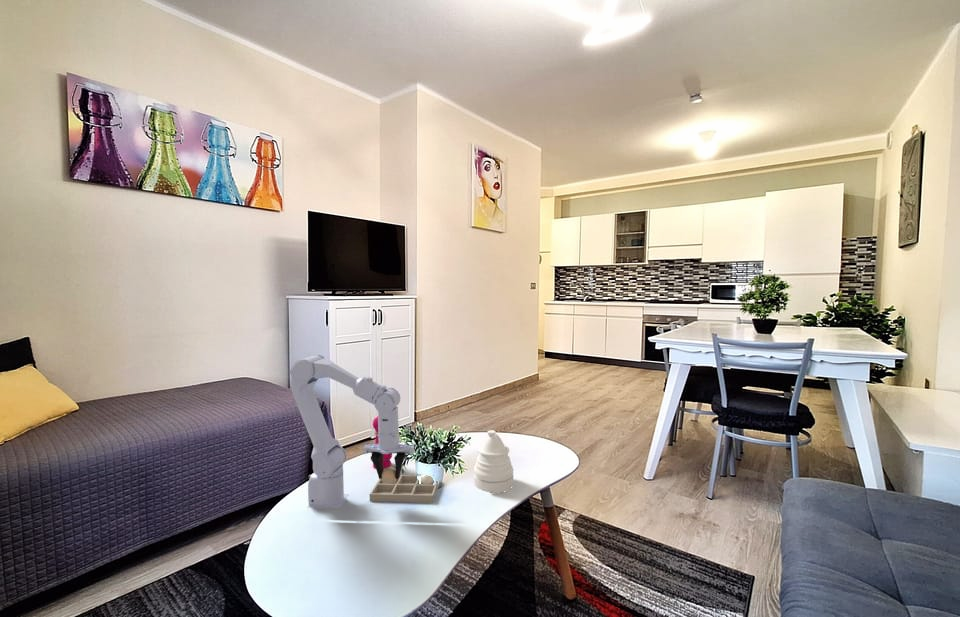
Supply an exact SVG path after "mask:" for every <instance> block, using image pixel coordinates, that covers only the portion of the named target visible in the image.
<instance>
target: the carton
mask: <svg viewBox="0 0 960 617" xmlns="http://www.w3.org/2000/svg"><path fill="white" fill-rule="evenodd" d="M438 488H439V486H438V481H436V484H435V485H422V484H419V480H418V479H417V476H416V474H415V475H414V474H412V475H410V474H400V477H399V479H397V480H396V483H395V484H384V483H383V479H382V478H381V479H379V478H378V481H377V482H376V483H375V485H374V486H373V488H372V490H371V491H370V493H369V501H370V502H400V503H401V502H403V503H404V502H405V503H434V501H435V497H436V495H437V492H438Z"/></svg>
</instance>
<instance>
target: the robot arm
mask: <svg viewBox="0 0 960 617" xmlns="http://www.w3.org/2000/svg"><path fill="white" fill-rule="evenodd" d="M289 374H290V376H291V386H290V387H291V388H290V390H291V393H292V396H293V399H294V401H295V404H296V406H297V408H298V411H299V413H300V416H301V418H302V421H303V423H304V425H305V429H306V431H307V433H308V436H309V438H310V441H311V443H312V446H313V448H312V451H311V456H310V458H311V460H312V470H313V473H312V474H310V476H309V480H308V484H307V486H308V487H307V489H308V490H307V492H308V494H307V496H308V501H307V502H308V505H307V509H309V508H311V509H312V508H313V509H315V508H318V509H340V507H342V505H343V503H344V502H345V501H346V499H347V498H348V497H349V493H348V494H345V492H344V491H345V490H344V483H345V482H344V463H345V462H346V461H347V455H348V454H347V452H346V449H345V448H343V447H342V445H341V444H340V442H339V440H337V439H335V438H333V436H332V434H331V432H330V429H329V426H328V425H327V422H326V420H325V416H324V414H323V412H322V410H321V407H320V404H319V401H318V399H317V397H316V395H315V392H314V388H315V386H316V384H317V382H318V380H319V379H325V378H329V379H331V380H334V381H336V382H338V383H340V384H341V385H344V386H346V387H349V388H350V389H352V390H353V394H354V395H355V396H356V397H359V398H361V399H362V400H364V401H366V402H368V403H370V404H371V405H374V408H375V410H376V411H377V414H378V416H377V417H378V436H379V444H375V443H374V444H373V443H372V444H365V445H364V446H363V448H362V450H363V455H368V454H371V456H370V461H371V462H372V465H373V464H374V465H375V467H376V469H375V470H376V471H377V472H376V473H377V476H378V480H379V479H381V478H382V472H383V470H384V469H383V455H384V454H389V453H392V454H396V455H394V457H393V460H394V464H395V470H396V479H399V477H400V475H401V472H402V467H403V463H404V460H405V458H406V456H407V455H409V456H411V455H414V454H415V445H409V444H403V443H400V440H399V436H400V434H399V431H400V430H399V429H400V428H399V406H398V405H399V404H400V403H401V394H400V393H399V391H397V390H396V389H395V388H394V387H387V386H386V385H381V384H379V383H377V382H376V381H374V380H373V377H371V376H368V377H367V376H363V377H357V376H356V375H354V374H352V373H350V372H349V371H348V370H346V369H344V368H343V367H341V366H339V365H338V364H336V363H334V362H333V361H332V360H331V359H330V358H327V357H325V356H323V355H322V354H314V355H312V356H309V357H306V358H301V359H298V360H296V361H295V362H294V363H293V365H292V367H291V368H290V370H289Z"/></svg>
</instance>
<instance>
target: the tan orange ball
mask: <svg viewBox="0 0 960 617" xmlns="http://www.w3.org/2000/svg"><path fill="white" fill-rule="evenodd" d="M382 479H383V481H384V482H386V483H392V482H393V481H395V479H396V468H394V467H392V466H390V467H387V468H385V469H383V472H382Z"/></svg>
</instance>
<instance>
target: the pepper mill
mask: <svg viewBox="0 0 960 617" xmlns="http://www.w3.org/2000/svg"><path fill="white" fill-rule="evenodd" d="M372 428H373V429H374V430H373V432H374V433H373V435H374V436H375V443H374V444H379V436H378V416H376V417H375V418H374V419H373V420H372ZM392 457H393V453H389V454H384V455H383V470H384V469H385V468H387V467H392V461H391V459H392ZM372 468H373V469H375V470H376V467H375V465H374V464H373V463H372Z"/></svg>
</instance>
